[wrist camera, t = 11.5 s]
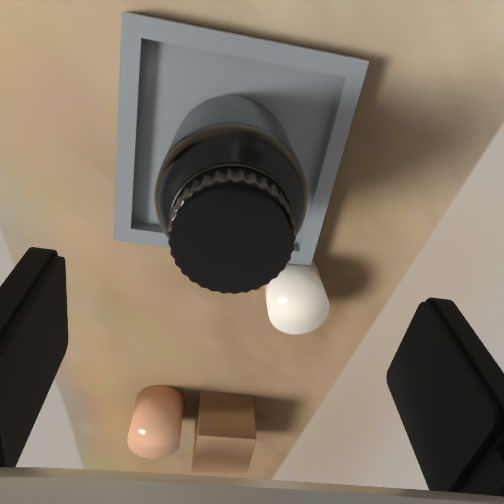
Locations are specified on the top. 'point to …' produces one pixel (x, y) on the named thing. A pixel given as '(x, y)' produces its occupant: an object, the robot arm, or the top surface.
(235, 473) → the walnut block
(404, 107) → the top surface
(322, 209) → the tray
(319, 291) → the white egg
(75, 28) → the top surface
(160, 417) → the peach rounded dome
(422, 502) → the robot arm
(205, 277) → the supplement bottle
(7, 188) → the top surface
